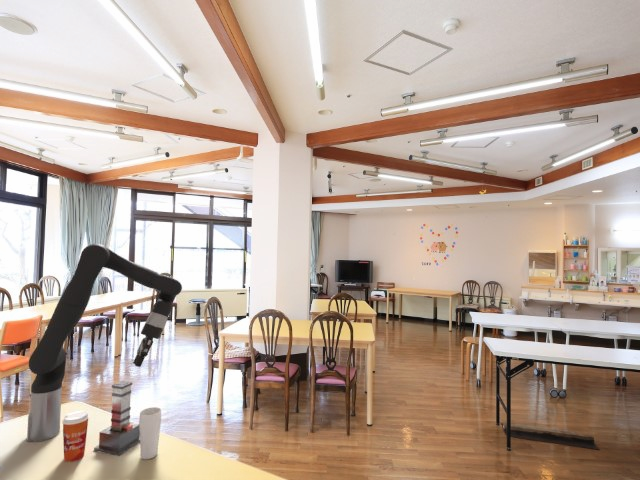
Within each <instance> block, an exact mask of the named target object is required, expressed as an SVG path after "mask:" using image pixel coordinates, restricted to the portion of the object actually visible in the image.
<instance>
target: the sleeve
mask: <svg viewBox="0 0 640 480" xmlns="http://www.w3.org/2000/svg"><path fill="white" fill-rule="evenodd" d="M129 423H130V424H129V425H127V426H126V427H124V431H122V432H121V433H119V432H114V431H111V425H109V426H108V427H106V428H104V429H103V430H101V431H99V435H98V436H99V439H98V444H97V445H96V446H94V447H93V451H94V452H98V453H99V452H100V453H103V454H109V455H112V456H117V457H120V456H122V455H123V454H125V453H126V452H128V451H129V450H130V449H133V448H134V447H135V446H137V445H138V444H140V431H139V423H135V422H130V421H129Z"/></svg>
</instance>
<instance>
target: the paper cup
mask: <svg viewBox="0 0 640 480" xmlns="http://www.w3.org/2000/svg"><path fill="white" fill-rule="evenodd" d="M90 417H91V415H90V414H89V412H88V411H86V410H77V411H72V412H70V413H68V414H65V416H64V417H63V420H62V421H61V423H62V434H63V435H62V436H63V437H62V438H63V460H64V462H66V463H73V462H77V461H79V460H81V459H82V458H83V457H84V456H85V451H86V450H85V449H86V441H87V432H88V425H89V419H90Z"/></svg>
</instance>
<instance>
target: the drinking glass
mask: <svg viewBox="0 0 640 480" xmlns="http://www.w3.org/2000/svg"><path fill="white" fill-rule="evenodd" d="M138 422H139V423H138V424H139V431H140V443H139V445H140V454H139V456H140V458H141V459H142V460H150V459H154V458H155V457H157V455H158V452H159V450H158V449H159V448H158V447H159V440H160V433H161V424H162V409H161V408H160V407H156V406H155V407H153V406H151V407H148V408H144V409H143V410H141V411H140V412H139V421H138Z"/></svg>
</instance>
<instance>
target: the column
mask: <svg viewBox="0 0 640 480" xmlns="http://www.w3.org/2000/svg"><path fill="white" fill-rule="evenodd" d="M132 385H133V382H131V381H125V380H121V381H119V382H116V383H114V384H112V385H111V388H112V393H111V397H112V399H111V400H112V403H111V404H112V406H111V410H110V411H111V412H110V413H111V418H110V422H111V425H110V426H111V431H114V432H119V433H121V432H122V431H124V427H126V426H127V425H129V424H130V423H129V422H130V420H131V415H130V413H131V394H132V390H131V389H132V388H131V387H132Z"/></svg>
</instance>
